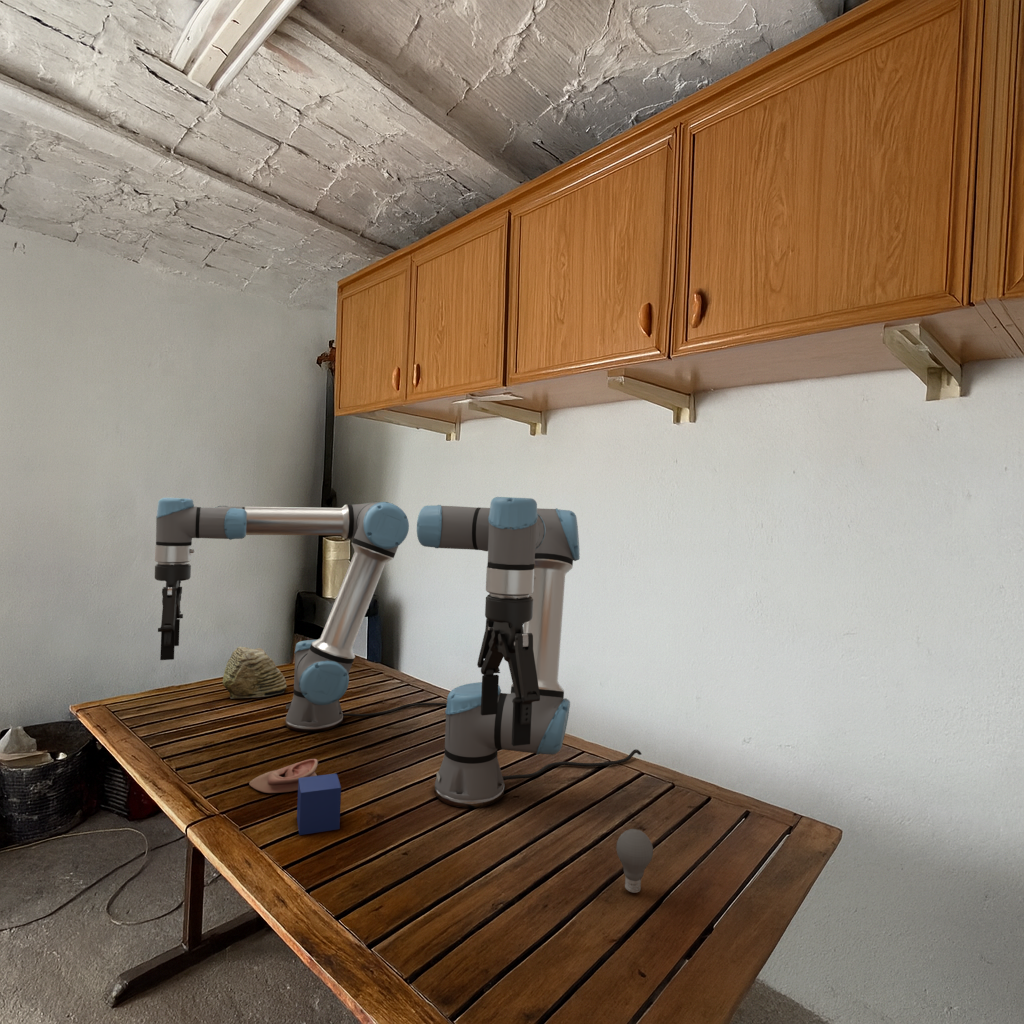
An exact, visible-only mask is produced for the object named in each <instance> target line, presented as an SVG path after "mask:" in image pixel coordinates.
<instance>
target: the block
mask: <svg viewBox="0 0 1024 1024" xmlns="http://www.w3.org/2000/svg"><path fill="white" fill-rule="evenodd" d="M341 799H342V786H341V783H340V779H339V776H338V773H328V774H320V775H319V774H318V775H317V776H311V777H303V778H298V790H297V804H296V805H297V806H296V822H297V827H298V828H297V830H298V835H299V836H304V835H310V834H317V833H323V832H330V831H336V830H340V827H341V803H342V802H341V801H342V800H341Z"/></svg>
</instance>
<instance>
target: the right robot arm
mask: <svg viewBox="0 0 1024 1024" xmlns="http://www.w3.org/2000/svg"><path fill="white" fill-rule="evenodd" d="M416 536H417V541H418V542H419V544H420V545H421V546H423V547H425V548H426V547H427V548H434V549H452V550H471V551H472V550H475V551H483V552H487V564H486V577H485V591H486V592H487V593H489V594H487V595H486V597H485V604H484V605H485V606H484V616H485V618H486V619H485V630H484V633H483V638H482V642H481V647H480V650H479V655H478V658H477V664H476V666H477V668H479V669H480V673H481V681H480V682H470V683H466V684H462V685H459V686H456V687H454V688H453V689H451V690H450V692H449V693H448V694H447V697H446V703H447V706H445V711H444V712H445V726H444V727H445V730H444V755H443V759H442V761H441V764H440V767H439V770H438V771H436V778H435V781H434V791H433V792H434V795H435V797H436V798H437V799H438V800H439V801H440V802H443V803H445V804H446V805H449V806H452V807H456V808H465V809H475V808H484V807H487V806H491V805H493V804H495V803H496V804H497V802H499V801H500V800H502V799H503V797H504V794H505V781H509V780H520V779H522V780H523V779H530V778H531V779H532V778H535V777H538V776H539V775H541V774H543V773H545V772H546V770H549V769H551V768H554V767H559V766H568V767H569V766H572V767H581V768H582V767H583V768H584V767H585V768H595V767H596V768H598V767H609V766H615V765H620V764H623V763H626V762H628V761H630V760H631V759H632V758H633V757H634V755H635V754H637V755H638V756H640V755H642V752H641V751H640V750H639V749H633V750H632V751H631V752H630V753H629V754H628V755H627V756H626V757H625V758H621V759H617V760H612V761H603V762H602V761H601V762H576V761H557V762H556V761H555V762H551V763H548V764H546V765H544V766H543V767H541V769H539V770H537V771H535V772H532V773H527V774H512V775H511V774H510V775H503V773H502V769H501V766H500V762H499V757H498V750H502V751H512V752H520V753H529V754H530V753H531V754H535V755H552V756H553V755H556V754H558V753H559V752H560V751H561V749H562V746H563V743H564V740H565V735H566V732H567V727H568V721H569V715H570V707H571V701H570V699H568V698H567V697H565V690H564V688H563V687H562V685H561V684H560V683H559V669H560V658H561V657H560V656H561V645H562V643H561V640H562V630H563V629H562V627H563V614H564V613H563V612H564V599H565V585H566V575H567V574H568V573H569V572H570V571H572V569H573V568H574V567H573V566H574V562H576V561H579V560H580V558H581V557H580V555H581V554H580V536H579V526H578V517H577V515H576V513H575V512H574V511H572V510H569V509H561V508H560V509H558V508H556V507H555V508H538V502H537V501H536V499H534V498H533V497H532V498H531V497H508V496H495V497H493V498H492V499H491V501H490V505H489V507H479V506H478V507H473V506H457V505H441V504H434V505H433V504H431V505H424V506H423V507H422V508H420V511H419V512H418V515H417V521H416ZM503 660H504V661H505V662H506V663H507V664H508V669H509V674H510V679H511V682H512V684H510V685H511V686H510V693H507V692H506V693H505V692H502V689H501V687H500V685H499V679H500V676H499V674H501V669H500V665H501V663H502V662H503Z"/></svg>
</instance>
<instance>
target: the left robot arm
mask: <svg viewBox="0 0 1024 1024" xmlns="http://www.w3.org/2000/svg"><path fill="white" fill-rule="evenodd" d="M155 519H156V520H155V525H156V526H155V546H154V561H155V562H156V564H155V565H154V579H155V580H156V581H159V582H165V586H163V587H162V589H161V596H162V600H161V604H162V611H161V622H160V627H157V632H158V633H160V634H161V635H160V654H159V655H160V656H159V657H160V659H159V661H172V660H175V647H179V646H180V626H181V624H180V621H181V619H183V618H184V614H183V613H182V612H181V601H182V593H183V586H181V583H182V581H189V580H190V579H191V577H192V575H191V573H192V565H191V564H190V563H189V562H191V561H192V554H194V553H195V549H194V548H192V544H193V542H192V540H193V539H214V540H215V539H216V540H217V539H218V540H230V541H232V540H242V539H245V538H246V536H341V537H342V538H344V539H345V540H347V539H348V540H349V539H351V540H352V541H351V546H352V548H353V552H354V553H353V555H352V558H351V560H350V563H349V565H348V567H347V570H346V572H345V575H344V577H343V580H342V582H341V585H340V588H339V590H338V592H337V595H336V597H335V599H334V603H333V605H332V608H331V610H330V613H329V615H328V617H327V619H326V623H325V625H324V628H323V630H322V632H321V635H320V637H319V638H318V639H307V640H301V641H298V642H297V643H295V648H294V649H295V650H294V672H293V673H294V674H293V675H294V679H293V695H292V696H293V697H292V699H291V702H289V703H286V704H285V710H287V709H288V711H287V713H286V715H285V726H286V728H287V729H289V730H291V731H294V732H295V731H296V732H301V733H316V732H325V731H329V730H332V729H335V728H337V727H339V726H340V725H342V723H343V722H344V717H356V718H361V717H362V718H363V717H372V716H380V715H386V714H389V713H394V712H396V711H400V710H402V709H404V708H410V707H416V706H417V707H419V706H443V707H444V706H445V707H447V702H416V703H408V704H404V705H400V706H397V707H395V708H392V709H388V710H383V711H377V712H369V713H347V712H346V713H344V712H343V709H342V706H341V702H340V699H342V698H343V696H344V695H345V694H346V692H347V690H348V688H349V685H350V675H349V673H350V671H351V669H352V666H353V663H354V661H355V658H356V655H355V653H354V650H353V647H354V646H355V642H356V639H357V637H358V634H359V632H360V629H361V627H362V624H363V622H364V620H365V616H366V614H367V612H368V608H369V606H370V604H371V601H372V599H373V596H374V593H375V591H376V589H377V586H378V583H379V581H380V578H381V576H382V573H383V570H384V568H385V566H386V564H387V563H388V562H390V561H392V560H394V558H395V556H396V553H397V551H398V549H399V546H400V545H401V544H402V543H404V541H405V540H406V538H407V536H408V534H409V529H410V525H409V518H408V516H407V514H406V513H405V511H404V510H403V509H402V508H400V507H399V506H398V505H397V504H394V503H391V502H388V501H373V502H365V503H357V504H344V505H343V506H342V507H295V506H294V507H288V506H287V507H285V506H228V505H218V506H215V507H201V506H195V504H194V499H192V498H186V497H185V498H183V497H161V498H160V499H159V500H158V501H157V509H156V517H155Z"/></svg>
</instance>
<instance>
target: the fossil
mask: <svg viewBox="0 0 1024 1024" xmlns="http://www.w3.org/2000/svg"><path fill="white" fill-rule="evenodd" d="M222 676H223V677H222V685H223V687H224V688H225V690H226V691H228V693H229V698H230V699H250V698H264V697H271V696H275V695H281V694H284V693H285V691H286V689H287V687H288V686H287V680H286V678H285V676H284V674H283V673H282V672H281V669H279V668H278V667H277V665H276V663H275V662H274V660H273V659H272V658H271V657H270V656H269V655H268V654H267V653H266V652H265V650H264V649H263V648H260V647H258V648H251V647H247V646H246V647H245V646H238V647H237V648H236V649H235V650H233V651H232V653H231V656H230V657H229V659H228V660H227V663H226V666H225V668H224V671H223V675H222Z"/></svg>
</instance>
